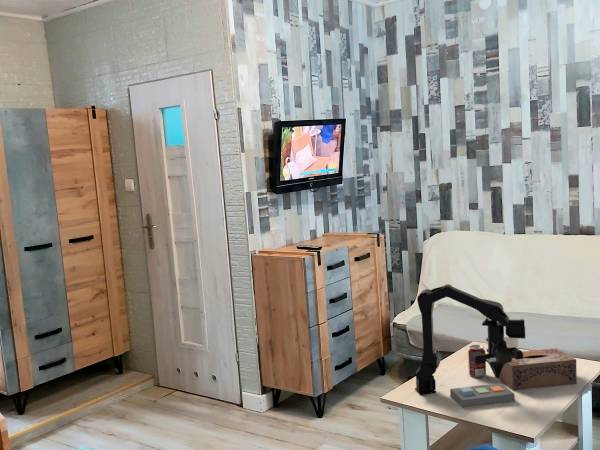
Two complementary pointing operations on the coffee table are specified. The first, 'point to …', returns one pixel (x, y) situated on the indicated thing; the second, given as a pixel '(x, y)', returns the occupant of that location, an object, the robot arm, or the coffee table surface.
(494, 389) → the orange button
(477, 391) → the green button
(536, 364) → the tissue box cover
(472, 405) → the button panel
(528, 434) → the coffee table surface
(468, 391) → the blue button
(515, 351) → the robot arm
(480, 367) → the soda can
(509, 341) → the white cup
